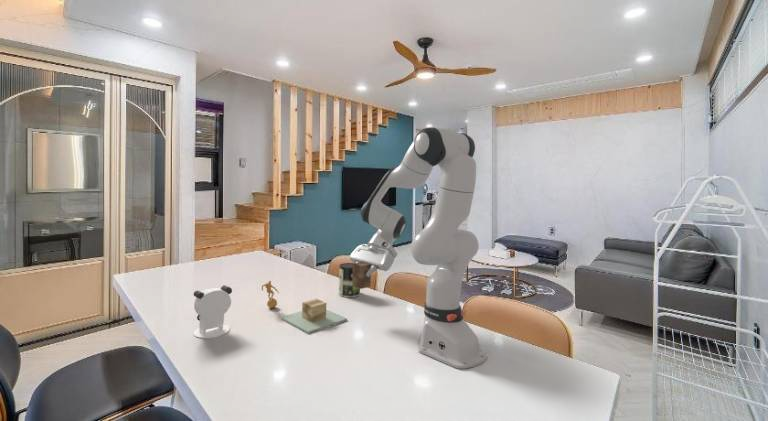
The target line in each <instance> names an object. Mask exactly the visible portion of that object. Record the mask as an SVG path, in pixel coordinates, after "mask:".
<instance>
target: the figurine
mask: <svg viewBox="0 0 768 421" xmlns="http://www.w3.org/2000/svg"><path fill="white" fill-rule="evenodd" d="M264 287H265V289H266V293H267V294H268V295H267V296H268V300H267V302H266V303H267V304H266V305H267V307H268V308H269V309H274V308H276V307H277V305H278V301H277V299H275V298H273V297H274V295H275V292H274V291H273V289H274V290H275V291H276V292H277V294H280V292H279V291H278V289H277V288H276V287H275V286H273V285H272V281H271V280H268V282H266V283H263V284H262V285H261V291H264ZM270 296H271V297H270Z"/></svg>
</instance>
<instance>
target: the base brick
mask: <svg viewBox="0 0 768 421" xmlns="http://www.w3.org/2000/svg"><path fill="white" fill-rule="evenodd" d="M301 307H302V309H301V311H302V318H304V319H306V320H308V321H310V322H315V321H318V320H322V319H325V318H326V310H327V302H325V301H323V300H320V299H318V298H313V299H311V300H306V301H303V302H302V304H301Z"/></svg>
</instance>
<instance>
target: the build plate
mask: <svg viewBox="0 0 768 421" xmlns="http://www.w3.org/2000/svg"><path fill="white" fill-rule="evenodd" d="M280 319H281V320H282V322H283V321H284V322H286V323H287V324H289V325H290V326H293V327H294V328H296V329H298V330H300V331H302V332H304V333H306V334H307V335H308V334H312V333H314V332H317V331H321V330H324V329H327V328H329V327H332V326H336V325H339V324H341V323H343V322H347V321H348V318H346V316H345V317H344V316H342V315H339V314H338V313H336V312H333V311H331V310H329V309H326V318H325V319H322V320H318V321H315V322H310V321H308V320H306V319H304V318H302V310H301V311H297V312H293V313H291V314H287V315H283V316H280Z"/></svg>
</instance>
